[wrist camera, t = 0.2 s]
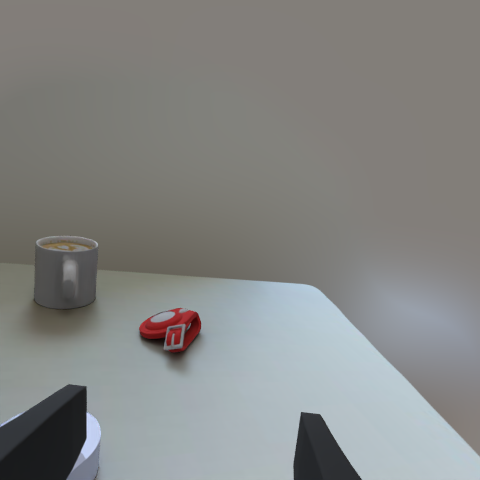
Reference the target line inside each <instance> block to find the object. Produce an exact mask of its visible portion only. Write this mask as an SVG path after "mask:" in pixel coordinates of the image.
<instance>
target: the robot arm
mask: <svg viewBox="0 0 480 480" xmlns="http://www.w3.org/2000/svg"><path fill="white" fill-rule="evenodd" d="M86 439H87V391H86V386H78V385H70V384H69V385H67V386H65V387H63V388H62V389H60V390H59V391H57V392H55V393H54V394H52V395H51V396H49V397H48V398H46V399H45V400H43V401H42V402H40V403H38V404H37V405H35V406H34V407H32V408H31V409H29V410H27V411H26V412H24V413H23V414H21V415H19V416H18V417H16V418H15V419H13V420H11V421H10V422H8V423H6V424H4V425H3V426H1V427H0V480H66V479H67V478H68V476H69V474H70V473H71V471H72V469H73V467H74V465H75V463H76V461H77V459H78V457H79V455H80V452H81V450H82V448H83V446H84V443H85V441H86ZM294 480H362V479H361V478H360V476H359V475H358V474H357V472H356V471H355V469H354V468H353V467H352V465H351V464H350V462H349V461H348V459H347V458H346V456H345V455H344V453H343V452H342V450H341V448H340V447H339V445H338V444H337V442H336V440H335V439H334V437H333V435H332V434H331V432H330V430H329V429H328V427H327V425H326V423H325V421H324V420H323V418H322V416H321V415H320V414H313V413H305V412H301V417H300V423H299V430H298V437H297V444H296V451H295V457H294Z"/></svg>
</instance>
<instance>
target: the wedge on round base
mask: <svg viewBox="0 0 480 480" xmlns="http://www.w3.org/2000/svg"><path fill="white" fill-rule="evenodd" d="M25 412H26V411H25ZM23 413H24V412H23ZM23 413H20V414H18V415H16V416H14V417H13V418H11V419H9V420H7V421H6V422H4V423H2V424H1V425H0V427H1V426H3V425H4V424H6V423H8V422H10V421H11V420H13V419H15V418H16V417H18V416H19V415H21V414H23ZM100 437H101V429H100V425H99V423H98V421H97V420H96V419H95V417H93V416H92V415H91V414H90V413H88V412H87V439H86V441H85V443H84V446H83V448H82V450H81V452H80V455H79V457H78V459H77V461H76V463H75V465H74V467H73V469H72V471H71V473H70V474H69V476H68V478H67V479H66V480H94V478H95V477H96V474H97V471H98V466H99V451H100Z"/></svg>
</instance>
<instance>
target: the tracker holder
mask: <svg viewBox="0 0 480 480" xmlns="http://www.w3.org/2000/svg"><path fill="white" fill-rule="evenodd" d="M190 323H191V326H190V328H189V329H188V331H187V332H186V333H185V331H186V329H187V328H188V326H189V325H190ZM200 329H201V321H200V318H199V315H198V313H197V312H194V311H191V310H188V309H183V308H177V309H173V310H169V311H166V312H161V313H159V314H156V315H154V316H152V317H150V318H148V319H147V320H145V321H144V322H143V323H142V324H141V325H140V328H139V330H140V333H141V335H142V336H143V337H145V338H148V339H157V338H163V337H166V338H165V344H164V350H169V352H171V353H173V352H180V351H184V350H185V349H186V348H187V347H188V345H189V344H190V343H191V342H192V340H193V339H194V338H195V337H196V335H197V334H198V333H199V331H200ZM184 333H185V334H184Z"/></svg>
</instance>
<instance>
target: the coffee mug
mask: <svg viewBox="0 0 480 480" xmlns="http://www.w3.org/2000/svg"><path fill="white" fill-rule="evenodd" d="M97 260H98V243H97V242H95V241H93V240H91V239H87V238H82V237H74V236H53V237H46V238H42V239H39V240H38V241H36V247H35V288H34V300H35V301H36V303H38V304H39V305H41V306H44V307H48V308H55V309H72V308H78V307H83V306H86V305H88V304H90V303H92V302H93V301H94V300H95V293H96V277H97Z"/></svg>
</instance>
